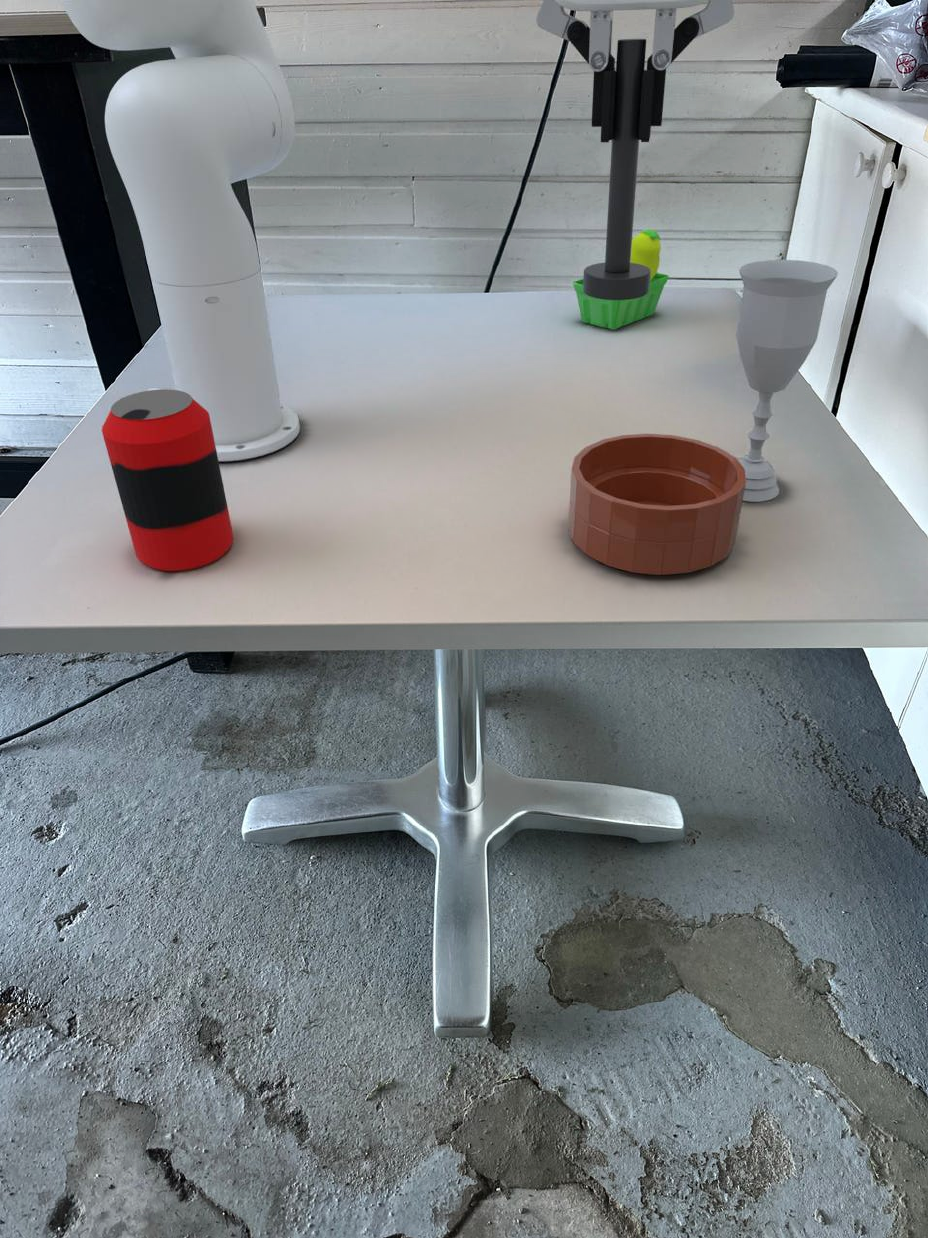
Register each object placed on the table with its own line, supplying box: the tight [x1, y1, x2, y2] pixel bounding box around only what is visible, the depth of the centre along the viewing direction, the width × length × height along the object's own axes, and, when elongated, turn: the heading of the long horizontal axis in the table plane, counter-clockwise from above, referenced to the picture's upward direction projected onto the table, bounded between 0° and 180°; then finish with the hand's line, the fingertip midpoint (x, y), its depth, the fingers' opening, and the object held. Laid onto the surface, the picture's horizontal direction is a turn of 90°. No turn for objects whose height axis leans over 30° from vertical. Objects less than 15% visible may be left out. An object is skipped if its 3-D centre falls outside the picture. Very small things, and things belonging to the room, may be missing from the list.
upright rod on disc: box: [582, 38, 651, 300], centre depth 61 cm, size 5×5×16 cm
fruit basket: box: [572, 228, 670, 331], centre depth 113 cm, size 11×9×11 cm
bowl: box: [567, 433, 746, 576], centre depth 69 cm, size 13×13×6 cm
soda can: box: [101, 388, 234, 572], centre depth 67 cm, size 8×8×12 cm
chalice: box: [735, 259, 839, 503], centre depth 72 cm, size 7×7×18 cm
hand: (625, 137), depth 59 cm, fingers closed on upright rod on disc
